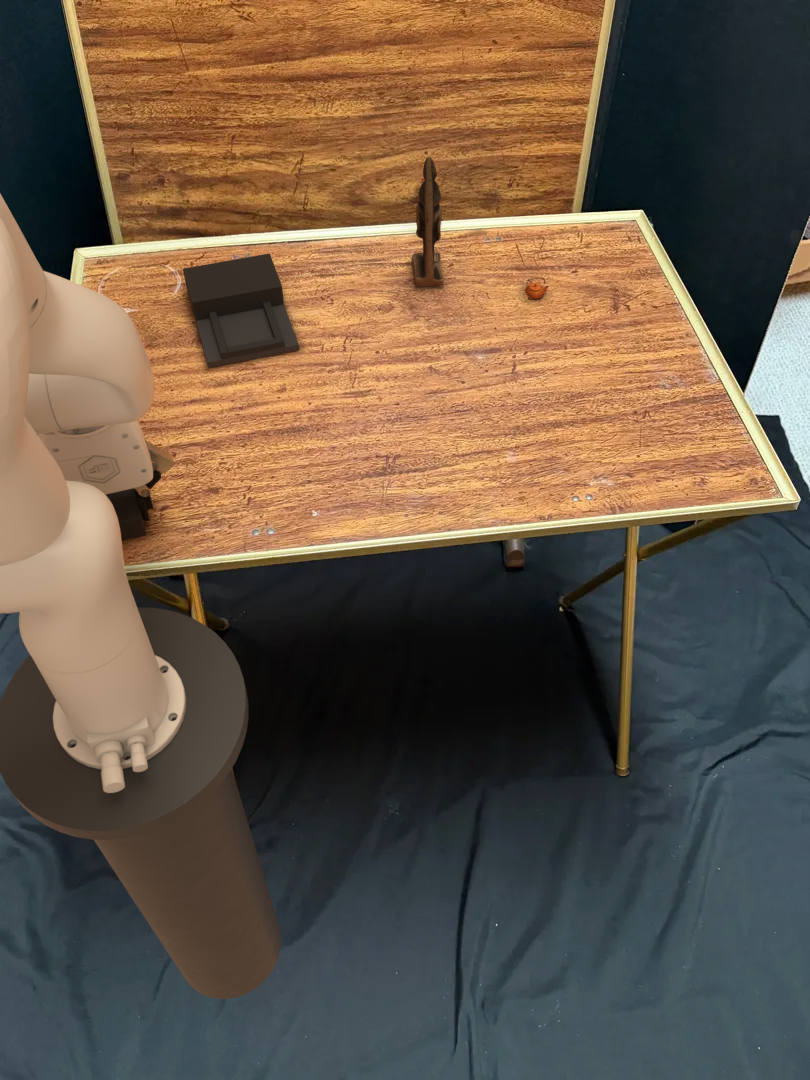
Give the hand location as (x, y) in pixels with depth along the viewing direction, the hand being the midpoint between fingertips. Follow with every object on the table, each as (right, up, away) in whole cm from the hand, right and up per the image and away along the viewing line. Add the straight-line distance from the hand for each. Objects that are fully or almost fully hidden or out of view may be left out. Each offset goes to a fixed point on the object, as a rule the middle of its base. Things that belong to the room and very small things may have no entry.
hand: (119, 516), depth 109 cm
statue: (+35, +34, +28) cm, 57 cm away
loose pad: (0, 0, +1) cm, 1 cm away
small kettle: (+50, +31, +26) cm, 65 cm away
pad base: (+10, +27, +22) cm, 36 cm away
